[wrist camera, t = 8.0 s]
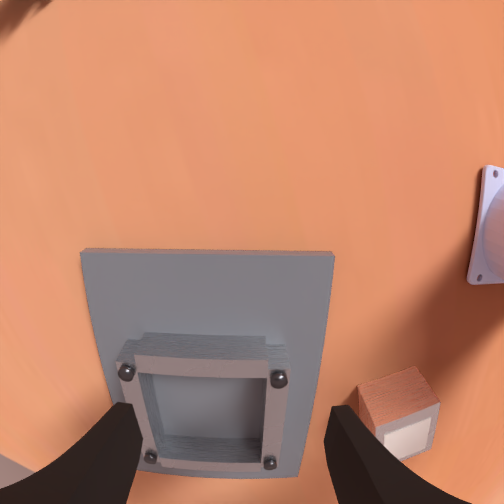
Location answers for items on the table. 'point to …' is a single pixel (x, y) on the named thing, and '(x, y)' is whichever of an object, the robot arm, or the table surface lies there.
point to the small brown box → (400, 412)
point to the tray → (212, 353)
